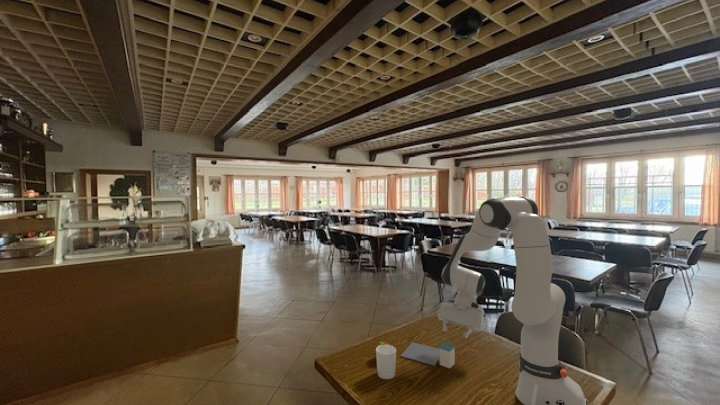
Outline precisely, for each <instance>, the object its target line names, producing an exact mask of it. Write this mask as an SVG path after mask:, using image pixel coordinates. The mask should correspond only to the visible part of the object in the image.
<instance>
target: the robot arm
mask: <svg viewBox="0 0 720 405" xmlns="http://www.w3.org/2000/svg"><path fill="white" fill-rule="evenodd" d="M538 214H539V208H538V205H537V203H536V201H534V199H531V198H529V197H525V196H519V197H518V196H516V197H515V196H514V197H513V196H503V197H497V198H490V199H489V198H488V199H487V200H485V201H483V202H482V203H481V204H480V207H479V208H478V210H477V211H476V214H475V216H474V218H473V221H472V225H471V228H470V230H469V232H468V233H466V234H463V235H461V236H460V238H459V240H458V242H457V243H456V245H455V246H454V249H453V251H452V254H451V255H450V258H449V260H448V262H447V264H446V265H445V266H444V267H443V268H442V271H441V279H442V282H443V283H444V284H445V285H446V286H450V287H454V288H457V289H459V291H458V292H457V294H456V296H455V298H454V302H452V301H448V300H445V301H442V302H441V304H440V307H439V308H438V310H437V313H436V316H437V317H436V318H438V319H439V320H440V321H442V331H443V332H448V329H449V328H448V326H447V324H448V323H449V324H453V325H456V326H460V327H464V328H466V329H468V330H467V331H464V332H463V334H462V336H463V338H466V339H468V337H469V335H470V334H472V333H473V332H474V331H476V332H481V331H483V329H484V326H485V318H484V317H485V311H484V308H483V307H482V306H481V305H480V304H478V303H477V298H478V297H479V296H481V295H482V294H483V292H484V288H485V285H486V281H487V280H486V279H485V276H484V275H483V274H482V273H480V272H478V271H475V270H473V269H469V268H466V267H464V266H461V265H459V264H458V263H459V261H460V260H461V258H462V255H463V254H464V253H466V252H484V251H489V250H491V249H492V248H494V247H495V246H496V245H497V243H498V240H499V237H500V235H501V231H504V230H506V229H507V230H509V231H510V232H511V234H512V242H513V250H514V251H513V252H514V256H515V264H516V265H515V266H516V274H515V275H516V277H515V288H514V296H513V299H512V302H511V311H512V314H513V316H514V317H515V318H516V320H518V321H519V322H520V323H522V324H523V326H522V329H521V330H520V353H519V356H518V370H519V378H518V381H517V385H516V389H515V391H514V393H515V397H516V398H517V400H519V401H520V403H521V404H523V405H586V400H587V398H586V397H585V394H584V392H583V389H582V388H581V386H580V384H578V383H577V382H576V381H574V380H573V379H572V378H571V377H569V375H568V371H567V370H566V367H565V366H566V365H565V364H564V362H563V361H559V359H558V358H559V338H560V337H559V336H560V331H561V326H562V321H563V314H564V307H565V303H566V295H565V292H564V291H563V289H562V288H561V287H560V286H558V285H557V284H555V283H552V275H553V271H554V265H553V264H554V263H553V258H552V249H551V244H550V238H549V234H548V229H547V227H546V223H545V220H544V219H543V218H542V217H541V216H540V215H538Z"/></svg>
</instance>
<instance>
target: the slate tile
mask: <svg viewBox="0 0 720 405" xmlns="http://www.w3.org/2000/svg"><path fill="white" fill-rule="evenodd" d="M400 358H403V359H406V360H407V359H408V360H411V361H414V362H417V363H422V364H426V365H429V366H433V367H436V365H437V364H438V362H439V361H440V348H438V347H433V346H430V345H425V344H422V343H416V342H412V341H411V343H410V344H409V346H407V347H406V349H405V350H404V351H403V352H402V354H400Z"/></svg>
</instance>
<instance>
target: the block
mask: <svg viewBox="0 0 720 405" xmlns="http://www.w3.org/2000/svg"><path fill="white" fill-rule="evenodd" d="M455 347H456V345H455V344H452V343H450V342H447V341H444V342H442V343H441V344H439V349H440V359H439V365H440V366H442V367H445V368H447V369H451V368H452V367H453V366H454V365H455V364H456V363H455V362H456V361H455V360H456V357H455V354H456V353H455V352H456V351H455V350H456V349H455Z"/></svg>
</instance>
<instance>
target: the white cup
mask: <svg viewBox="0 0 720 405" xmlns="http://www.w3.org/2000/svg"><path fill="white" fill-rule="evenodd" d="M377 346H378V345H377ZM375 354H376V355H375V356H376V369H377V376H378V377H379V378H380V379H382V380H391V379H393V378H394V377H396V376H395V375H396V364H397V363H396V361H397V348H396V347H395V346H393V345H391V344H389V345H380V346H378V347H376V348H375Z"/></svg>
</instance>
